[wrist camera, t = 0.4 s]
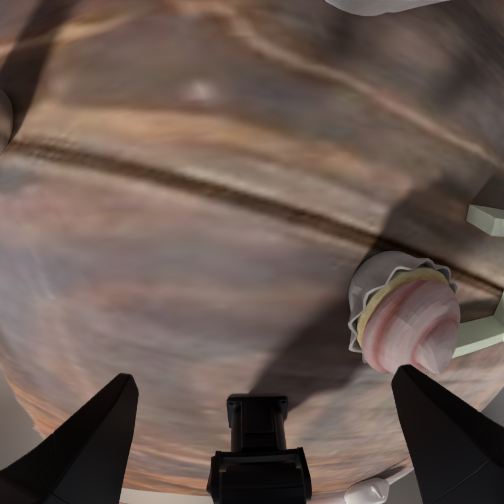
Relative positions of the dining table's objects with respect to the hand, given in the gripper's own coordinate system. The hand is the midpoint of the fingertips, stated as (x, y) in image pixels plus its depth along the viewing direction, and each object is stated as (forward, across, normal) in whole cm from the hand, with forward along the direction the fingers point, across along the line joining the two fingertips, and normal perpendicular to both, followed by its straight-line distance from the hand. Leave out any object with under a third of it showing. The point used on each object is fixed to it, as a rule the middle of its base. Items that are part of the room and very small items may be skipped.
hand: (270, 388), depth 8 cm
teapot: (+15, -31, +69) cm, 77 cm away
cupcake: (+13, -11, +4) cm, 17 cm away
